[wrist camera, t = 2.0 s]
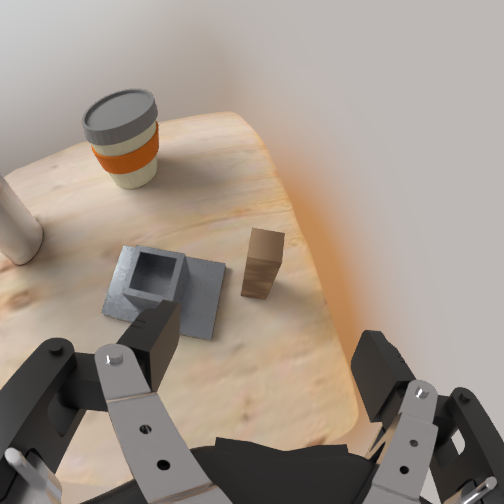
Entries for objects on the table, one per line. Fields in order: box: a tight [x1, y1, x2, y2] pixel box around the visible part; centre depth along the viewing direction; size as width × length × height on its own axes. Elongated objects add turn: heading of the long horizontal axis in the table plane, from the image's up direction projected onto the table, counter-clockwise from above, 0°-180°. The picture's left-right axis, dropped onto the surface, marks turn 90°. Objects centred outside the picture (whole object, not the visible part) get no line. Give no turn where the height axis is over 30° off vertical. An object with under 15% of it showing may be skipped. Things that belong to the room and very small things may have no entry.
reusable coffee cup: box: [82, 89, 159, 189], centre depth 41 cm, size 12×13×15 cm
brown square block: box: [241, 228, 285, 300], centre depth 34 cm, size 4×4×12 cm
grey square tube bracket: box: [102, 245, 226, 341], centre depth 35 cm, size 16×11×6 cm
